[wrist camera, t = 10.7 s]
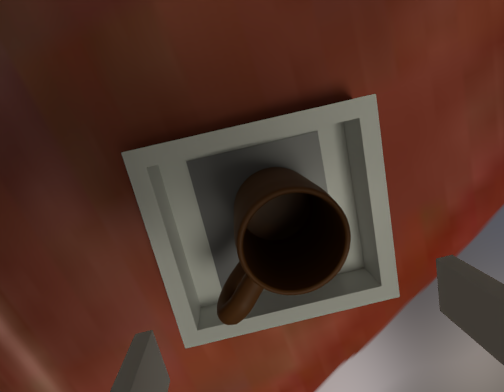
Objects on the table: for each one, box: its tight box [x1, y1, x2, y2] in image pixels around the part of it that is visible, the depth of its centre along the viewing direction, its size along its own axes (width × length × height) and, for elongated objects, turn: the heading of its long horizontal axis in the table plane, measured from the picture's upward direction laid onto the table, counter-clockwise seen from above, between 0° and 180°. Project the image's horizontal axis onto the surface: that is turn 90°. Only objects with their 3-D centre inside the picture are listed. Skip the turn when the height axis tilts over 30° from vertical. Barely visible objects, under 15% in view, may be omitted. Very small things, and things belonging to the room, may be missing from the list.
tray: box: [121, 94, 400, 349], centre depth 27 cm, size 20×18×4 cm
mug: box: [217, 167, 351, 325], centre depth 24 cm, size 12×8×9 cm, turn 144°
